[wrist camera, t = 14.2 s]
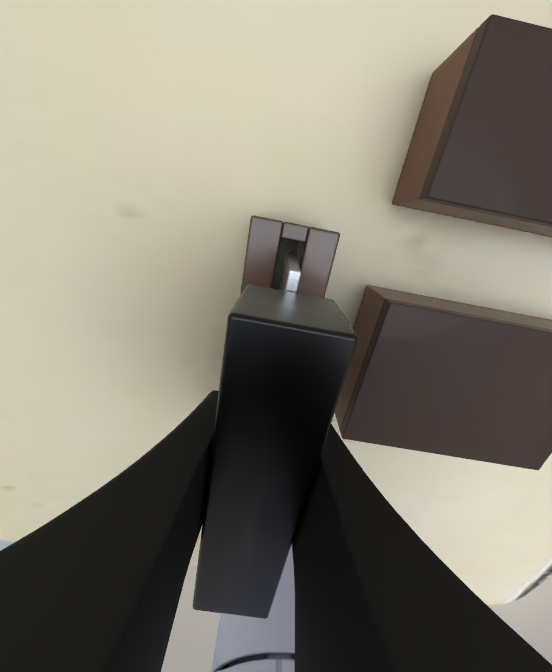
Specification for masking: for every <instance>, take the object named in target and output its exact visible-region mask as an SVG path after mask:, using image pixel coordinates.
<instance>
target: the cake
mask: <svg viewBox="0 0 552 672" xmlns="http://www.w3.org/2000/svg"><path fill="white" fill-rule="evenodd" d="M353 330H354V332H355V333H356V335H357V336H358V341H357V344H356V347H355V350H354V353H353V357H352V360H351V363H350V366H349V369H348V372H347V375H346V378H345V381H344V384H343V387H342V390H341V394H340V397H339V400H338V403H337V406H336V409H335V414H336V418H337V422H338V425H339V429H340V432H341V436H342V438H343V439H348V440H355V441H361V442H367V443H373V444H379V445H386V446H392V447H398V448H404V449H410V450H416V451H423V452H429V453H435V454H441V455H447V456H453V457H460V458H466V459H472V460H478V461H484V462H491V463H497V464H503V465H509V466H515V467H521V468H528V469H534V470H539V469H540V468H541V466H542V465H543V464H544V462H545V461H546V460H547V458H548V457H549V456H550V454H551V453H552V320H548V319H543V318H537V317H532V316H527V315H522V314H516V313H511V312H506V311H501V310H495V309H490V308H485V307H480V306H474V305H469V304H464V303H459V302H454V301H448V300H443V299H438V298H433V297H427V296H422V295H417V294H412V293H406V292H401V291H396V290H391V289H385V288H380V287H375V286H370V285H367V286H366V290H365V293H364V296H363V299H362V302H361V306H360V309H359V312H358V315H357V318H356V322H355V325H354V328H353Z"/></svg>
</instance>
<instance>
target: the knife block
mask: <svg viewBox="0 0 552 672" xmlns="http://www.w3.org/2000/svg"><path fill="white" fill-rule="evenodd" d="M339 237H340V233H338V232H333V231H328V230H323V229H318V228H313V227H308V226H303V225H298V224H293V223H288V222H284V223H283V222H282V221H278V220H273V219H268V218H263V217H258V216H251V220H250V228H249V235H248V242H247V250H246V257H245V264H244V272H243V279H242V286H241V294H242V292H243V290H244V289H245V287H246V285H249V284H251V285H256V286H261V287H267V288H272V283H273V277H274V272H275V266H276V261H277V255H278V249H279V244H280V238H283V239H289V240H294V241H299V242H300V243H299V248H298V253H297V258H296V260H297V262H298V265H299V268H300V271H301V276H300V281H299V286H298V290H297V293H299V294H304V295H309V296H315V297H320V298H324V296H325V292H326V288H327V284H328V280H329V276H330V272H331V268H332V264H333V261H334V257H335V253H336V249H337V245H338V241H339ZM241 294H240V295H241Z"/></svg>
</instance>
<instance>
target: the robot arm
mask: <svg viewBox="0 0 552 672" xmlns="http://www.w3.org/2000/svg"><path fill="white" fill-rule="evenodd" d="M218 394H219V391H216V390H214V391H212V392H210V393H209V394H208V396H207V397H206V398H205V399H204V400H203V401H202V402H201V403H200V404H199V406H198V407H197V408H196V409H195V410H194V411H193V412H192V413H191V414H190V415H189V416H188V417H187V418H186V419H185V420H183V421H182V422H181V423H180V424H179V425H178V426H177V427H176V428H175V429H174V430H173V431H172V432H171V433H170V434H168V435H167V436H166V437H165V438H164V439H163V440H161V441H160V442H159V443H158V444H157V445H155V446H154V447H153V448H152V449H151V450H150V451H148V452H147V453H146V454H145V455H144V456H142V457H141V458H140V459H139V460H137V461H136V462H135V463H133V464H132V465H131V466H130V467H128V468H127V469H126V470H124V471H123V472H122V473H120V474H119V475H118V476H116V477H115V478H113V479H112V480H111V481H109V482H108V483H107V484H105V485H104V486H102V487H101V488H99V489H98V490H97V491H95V492H94V493H92V494H91V495H89V496H88V497H86V498H85V499H83V500H82V501H80V502H79V503H77V504H76V505H74V506H73V507H71V508H70V509H68V510H67V511H65V512H64V513H62V514H61V515H59V516H57V517H56V518H54V519H53V520H51V521H50V522H48V523H46V524H45V525H43V526H42V527H40V528H38V529H37V530H35V531H34V532H32V533H30V534H28V535H27V536H25V537H23V538H22V539H20V540H18V541H16V542H15V543H13V544H11V545H10V546H8V547H6V548H5V549H3V550H1V551H0V672H161V668H162V664H163V660H164V656H165V652H166V649H167V645H168V641H169V637H170V633H171V629H172V625H173V622H174V618H175V614H176V610H177V606H178V602H179V598H180V594H181V591H182V587H183V583H184V579H185V576H186V573H187V569H188V566H189V563H190V559H191V556H192V553H193V550H194V547H195V544H196V541H197V538H198V535H199V533H200V530H201V527H202V524H203V517H204V509H205V501H206V493H207V484H208V476H209V468H210V460H211V452H212V443H213V435H214V427H215V419H216V411H217V403H218ZM211 672H552V665H551V664H550V663H549V662H548V661H547V660H546V659H545V658H543V656H541V655H540V654H539V653H538V652H537V651H536V650H535V649H534V648H533V647H532V646H530V645H529V644H528V643H527V642H526V641H525V640H524V639H523V638H522V637H521V636H519V635H518V634H517V633H516V632H515V631H514V630H513V629H512V628H510V627H509V626H508V625H507V624H506V623H505V622H504V621H503V620H502V619H501V618H500V617H499V616H498V615H496V614H495V613H494V612H493V611H492V610H491V609H490V608H489V607H488V606H487V605H486V604H485V603H484V602H483V601H482V600H481V599H480V598H479V597H478V596H476V595H475V594H474V593H473V592H472V591H471V590H470V589H469V588H468V587H467V586H466V585H465V584H464V583H463V582H462V581H461V580H460V579H459V578H458V577H457V576H456V575H455V574H454V573H453V572H452V571H451V570H450V569H449V568H448V567H447V566H446V565H445V564H444V563H443V562H442V561H441V560H440V559H439V558H438V557H437V556H436V555H435V554H434V552H433V551H432V550H431V549H430V548H429V547H428V546H427V545H426V544H425V543H424V542H423V541H422V540H421V539H420V538H419V537H418V535H417V534H416V533H415V532H414V531H413V530H412V529H411V528H410V526H409V525H408V524H407V523H406V522H405V521H404V520H403V519H402V518H401V516H400V515H399V514H398V513H397V512H396V511H395V510H394V508H393V507H392V506H391V505H390V504H389V502H388V501H387V500H386V499H385V498H384V496H383V495H382V494H381V493H380V491H379V490H378V489H377V488H376V486H375V485H374V484H373V483H372V481H371V480H370V479H369V477H368V476H367V475H366V474H365V472H364V471H363V470H362V468H361V467H360V465H359V464H358V463H357V461H356V460H355V458H354V457H353V456H352V454H351V453H350V451H349V450H348V449H347V447H346V446H345V444H344V443H343V441H342V440H341V438H340V437H339V435H338V434H337V432H336V431H335V429H334V427H333V426H332V424H330V427H329V430H328V434H327V437H326V440H325V443H324V446H323V449H322V452H321V455H320V458H319V461H318V464H317V467H316V471H315V474H314V477H313V480H312V483H311V486H310V489H309V492H308V495H307V498H306V501H305V504H304V507H303V511H302V514H301V517H300V520H299V523H298V526H297V529H296V532H295V535H294V538H293V541H292V544H291V548H290V551H289V554H288V557H287V560H286V563H285V566H284V569H283V572H282V575H281V578H280V581H279V585H278V588H277V591H276V594H275V597H274V600H273V603H272V606H271V609H270V612H269V615H268V618H266V619H263V618H255V617H248V616H240V615H232V614H225V613H221V614H220V620H219V627H218V633H217V640H216V645H215V652H214V658H213V664H212V671H211Z"/></svg>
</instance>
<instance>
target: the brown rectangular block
mask: <svg viewBox="0 0 552 672" xmlns="http://www.w3.org/2000/svg"><path fill="white" fill-rule="evenodd" d="M392 204H394V205H399V206H404V207H408V208H413V209H418V210H423V211H428V212H433V213H438V214H443V215H447V216H452V217H457V218H462V219H467V220H472V221H477V222H481V223H486V224H491V225H496V226H501V227H506V228H511V229H516V230H520V231H525V232H530V233H535V234H540V235H545V236H550V237H552V29H551V28H546V27H542V26H538V25H534V24H530V23H526V22H522V21H518V20H514V19H510V18H506V17H502V16H497V15H490V16H489V17H488V18H487V19H486V20H485V21H484V22H483V23H482V24H481V25H480V27H479V28H477V29H476V30H475V31H474V32H473V33H472V34H471V35H470V36H469V37H468V38H467V39H466V40H465V41H464V42H463V43H462V44H461V45H460V46H459V47H458V48H457V49H456V50H455V51H454V52H453V53H452V54H451V55H450V56H449V57H448V58H447V59H446V60H445V61H444V62H443V63H442V64H441V65H440V66H439V67H438V68H437V69H436V70H435V71H434V72H433V73H432V77H431V80H430V83H429V86H428V89H427V93H426V96H425V99H424V102H423V105H422V109H421V112H420V115H419V118H418V121H417V125H416V128H415V131H414V134H413V138H412V141H411V144H410V147H409V150H408V154H407V157H406V160H405V163H404V166H403V170H402V173H401V176H400V179H399V183H398V186H397V189H396V192H395V195H394V199H393V202H392Z"/></svg>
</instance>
